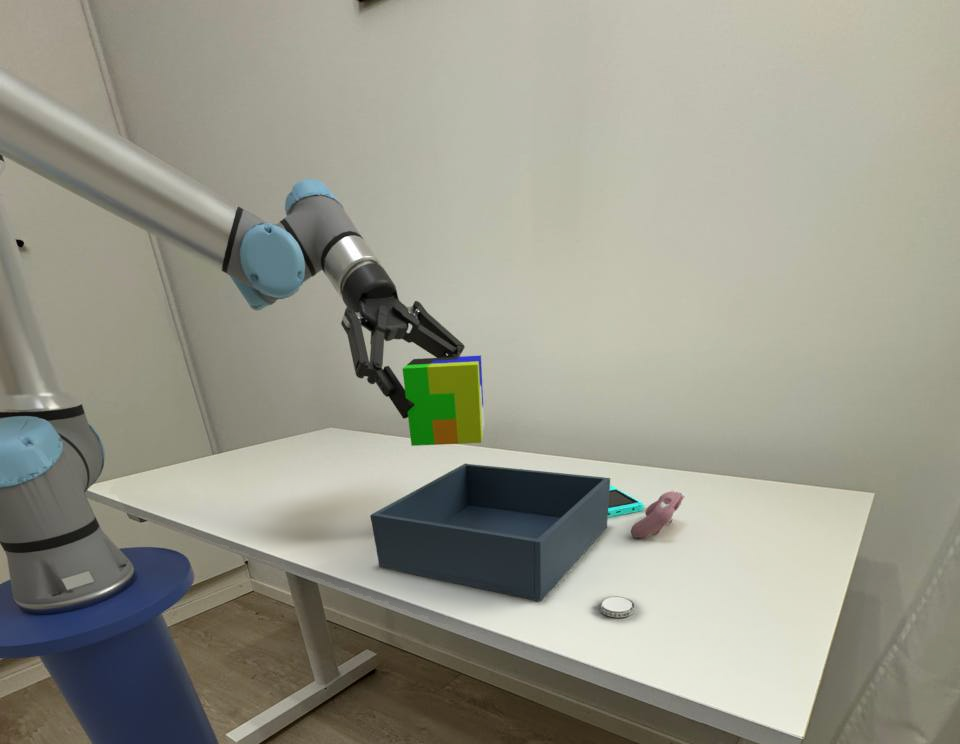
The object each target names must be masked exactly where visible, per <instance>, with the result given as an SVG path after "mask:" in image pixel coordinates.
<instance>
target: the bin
mask: <svg viewBox="0 0 960 744" xmlns="http://www.w3.org/2000/svg"><path fill="white" fill-rule="evenodd" d="M610 485H611V478H610V477H605V476H593V475H584V474H574V473H562V472H553V471H545V470H544V471H543V470H532V469H523V468H513V467H502V466H493V465H482V464H474V463H472V464H471V463H463V464H461V465H459V466H458V467H456V468H454V469H452V470H450V471H448V472H446V473H445V474H443V475H441V476H439V477H437V478H435V479H434V480H432V481H430V482H428V483H426V484H425V485H423V486H420V487H419V488H417V489H415V490H413V491H412V492H410V493H408V494H406V495H404V496H403V497H401V498H398V499H397V500H396V501H393V502H391V503H389V504H388V505H386V506H384V507H382V508H379V510H377V511H375V512H373V513H371V514H370V521H371V526H372V532H373V537H374V538H373V540H374V545H375V549H376V555H377V561H378V567H379V568H382V569H385V570H390V571H395V572H400V573H405V574H409V575H415V576H419V577H423V578H428V579H432V580H437V581H441V582H442V581H443V582H448V583H451V584H456V585H461V586H465V587H471V588H476V589H480V590H485V591H489V592H493V593H499V594H503V595H507V596H513V597H516V598H517V597H518V598H522V599H527V600H532V601H537V602H542V601H543V599H544V598H545V597H546V596H547V595H548V594H549V593H550V592H551V591H552V590H553V588H554V587H555V586H556V585H558V583H559V582H560V581H561V579H562V578H563V577H564V576H565V575H566V574H568V572H569V570H570V569H571V568H572V567H573V566H575V564H576V563H577V562H578V561H579V560H580V559H581V557H582V556H583V555H584V554H585V553H586V552H587V551H588V550H589V548H590V547H591V546H592V545H594V543H595V542H596V541H597V540H598V539H599V537H600V536H602V534H604V532H605V531H606V530H607V529H608V520H609V519H608V518H609V517H608V505H609V490H610Z"/></svg>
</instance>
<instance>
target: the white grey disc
mask: <svg viewBox="0 0 960 744" xmlns="http://www.w3.org/2000/svg"><path fill="white" fill-rule="evenodd" d="M599 611H600V613H602V614H603V615H605V616H608V617H611V618H625V617H629V616H631V615H632V614H633V613H634V611H635V603H634V602H633V601H632V600H631V599H629V598H627V597H624V596H608V597H604V598H603V599H602V600H600V601H599Z"/></svg>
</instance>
